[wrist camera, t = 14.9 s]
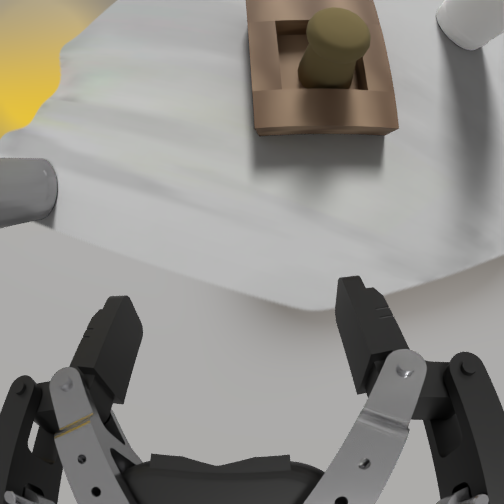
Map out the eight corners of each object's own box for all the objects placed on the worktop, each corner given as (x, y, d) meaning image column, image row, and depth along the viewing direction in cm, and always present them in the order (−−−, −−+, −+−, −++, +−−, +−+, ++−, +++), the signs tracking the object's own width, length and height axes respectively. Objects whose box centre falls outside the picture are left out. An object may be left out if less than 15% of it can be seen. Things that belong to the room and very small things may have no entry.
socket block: (259, 136, 30) (254, 128, 26) (250, 17, 27) (245, -2, 22) (384, 135, 28) (398, 128, 24) (364, 18, 25) (372, 0, 21)
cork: (362, 84, 26) (395, 42, 16) (317, 107, 28) (333, 68, 17) (331, 43, 26) (348, -11, 15) (286, 64, 27) (285, 11, 16)
